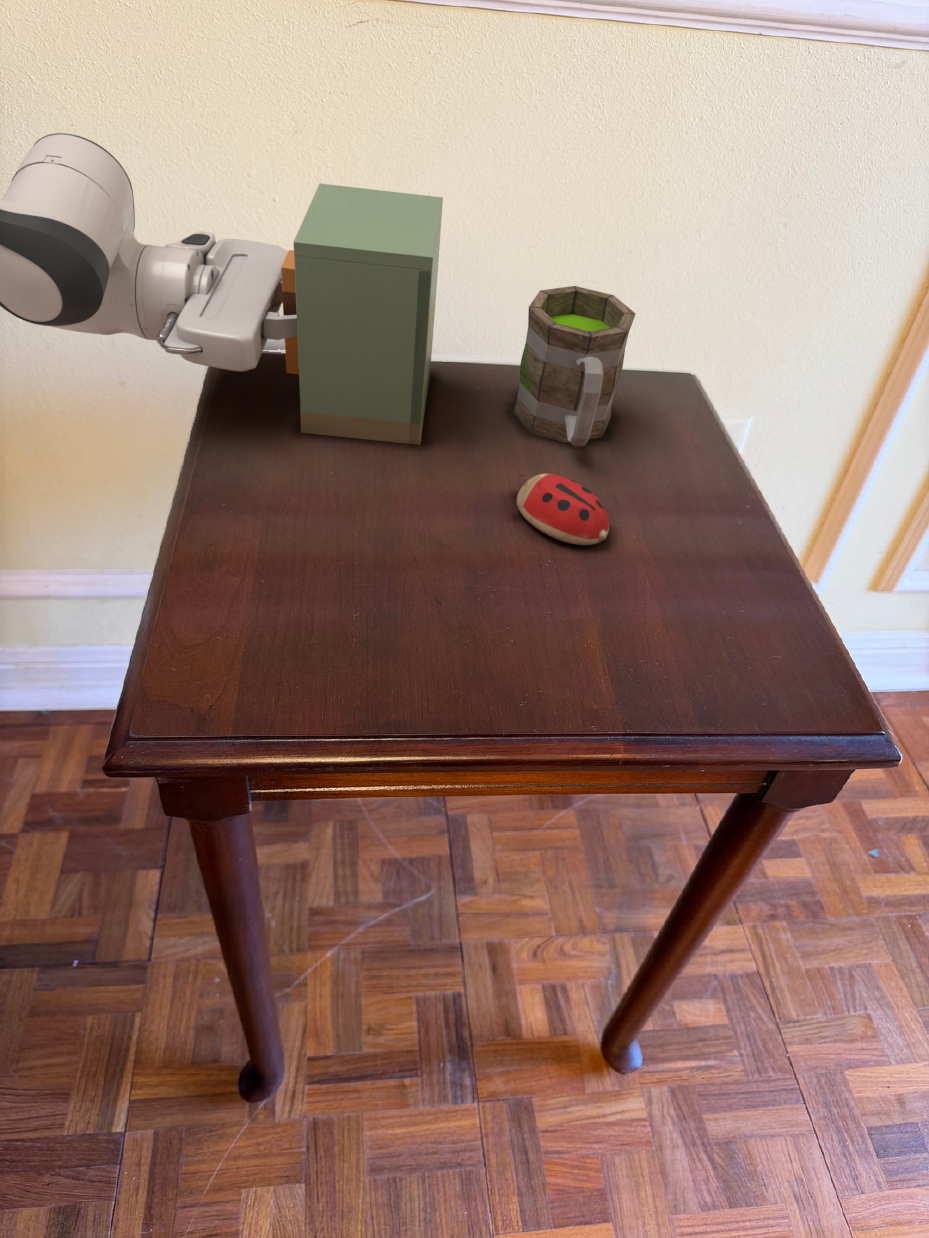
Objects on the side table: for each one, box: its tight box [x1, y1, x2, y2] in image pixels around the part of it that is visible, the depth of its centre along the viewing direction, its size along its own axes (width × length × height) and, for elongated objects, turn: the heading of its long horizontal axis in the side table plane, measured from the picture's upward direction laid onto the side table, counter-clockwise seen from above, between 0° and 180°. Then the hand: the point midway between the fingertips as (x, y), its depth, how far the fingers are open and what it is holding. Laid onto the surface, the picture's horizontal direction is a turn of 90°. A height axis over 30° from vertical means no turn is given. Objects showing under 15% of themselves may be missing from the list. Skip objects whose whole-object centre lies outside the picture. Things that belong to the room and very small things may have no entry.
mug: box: [512, 285, 636, 447], centre depth 91 cm, size 16×11×12 cm
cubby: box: [293, 183, 444, 446], centre depth 88 cm, size 12×14×19 cm
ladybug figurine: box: [516, 473, 610, 546], centre depth 82 cm, size 7×10×4 cm
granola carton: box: [281, 249, 299, 375], centre depth 89 cm, size 5×4×11 cm
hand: (321, 312), depth 88 cm, fingers closed on granola carton, 4 cm apart
